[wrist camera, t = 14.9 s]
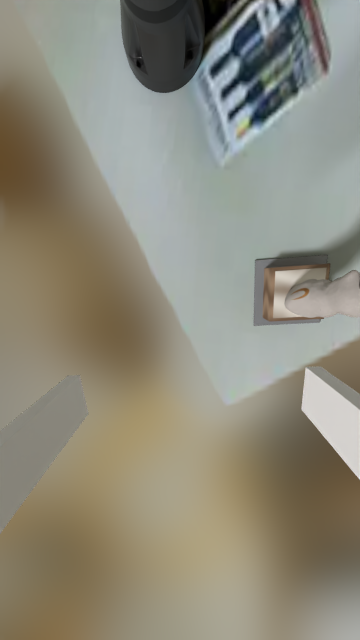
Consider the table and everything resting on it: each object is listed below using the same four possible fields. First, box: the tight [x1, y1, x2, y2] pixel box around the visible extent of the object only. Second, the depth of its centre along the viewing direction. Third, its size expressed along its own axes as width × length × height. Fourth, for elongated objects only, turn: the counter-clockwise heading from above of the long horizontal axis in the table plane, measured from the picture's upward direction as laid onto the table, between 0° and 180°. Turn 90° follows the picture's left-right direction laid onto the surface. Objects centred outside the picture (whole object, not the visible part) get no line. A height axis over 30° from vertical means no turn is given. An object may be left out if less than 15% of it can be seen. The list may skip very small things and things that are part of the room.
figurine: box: [284, 270, 360, 318], centre depth 33 cm, size 9×10×15 cm
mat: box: [254, 255, 327, 326], centre depth 44 cm, size 16×16×1 cm
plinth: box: [263, 264, 330, 322], centre depth 42 cm, size 12×12×4 cm
